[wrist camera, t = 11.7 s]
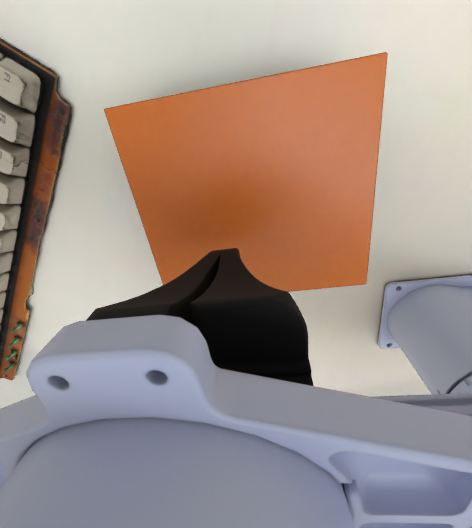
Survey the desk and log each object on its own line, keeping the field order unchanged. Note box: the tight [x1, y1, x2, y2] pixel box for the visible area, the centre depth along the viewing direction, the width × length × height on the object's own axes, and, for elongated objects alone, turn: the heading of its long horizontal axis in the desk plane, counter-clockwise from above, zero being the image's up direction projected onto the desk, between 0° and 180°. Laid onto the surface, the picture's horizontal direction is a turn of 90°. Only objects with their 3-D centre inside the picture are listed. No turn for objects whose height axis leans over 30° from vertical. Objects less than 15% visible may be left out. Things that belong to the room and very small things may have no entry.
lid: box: [104, 52, 387, 292], centre depth 15 cm, size 12×13×1 cm
